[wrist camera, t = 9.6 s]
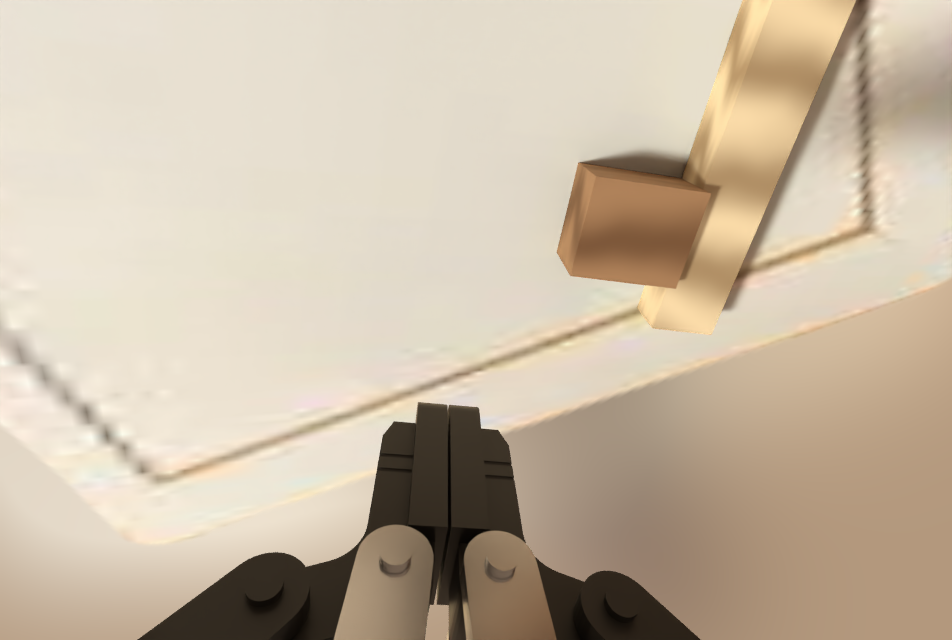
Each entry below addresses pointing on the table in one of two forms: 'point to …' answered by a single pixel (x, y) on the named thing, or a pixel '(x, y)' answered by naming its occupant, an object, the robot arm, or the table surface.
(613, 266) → the walnut block
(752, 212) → the ash board
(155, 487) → the table surface
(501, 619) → the robot arm
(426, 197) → the table surface
